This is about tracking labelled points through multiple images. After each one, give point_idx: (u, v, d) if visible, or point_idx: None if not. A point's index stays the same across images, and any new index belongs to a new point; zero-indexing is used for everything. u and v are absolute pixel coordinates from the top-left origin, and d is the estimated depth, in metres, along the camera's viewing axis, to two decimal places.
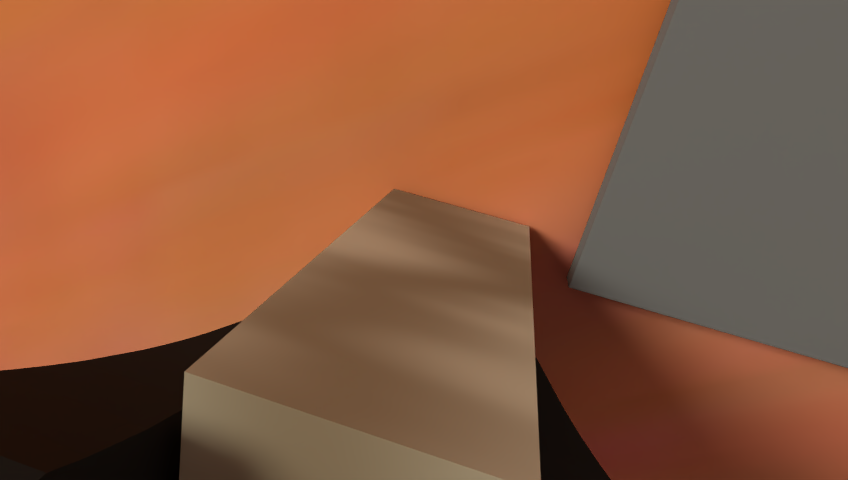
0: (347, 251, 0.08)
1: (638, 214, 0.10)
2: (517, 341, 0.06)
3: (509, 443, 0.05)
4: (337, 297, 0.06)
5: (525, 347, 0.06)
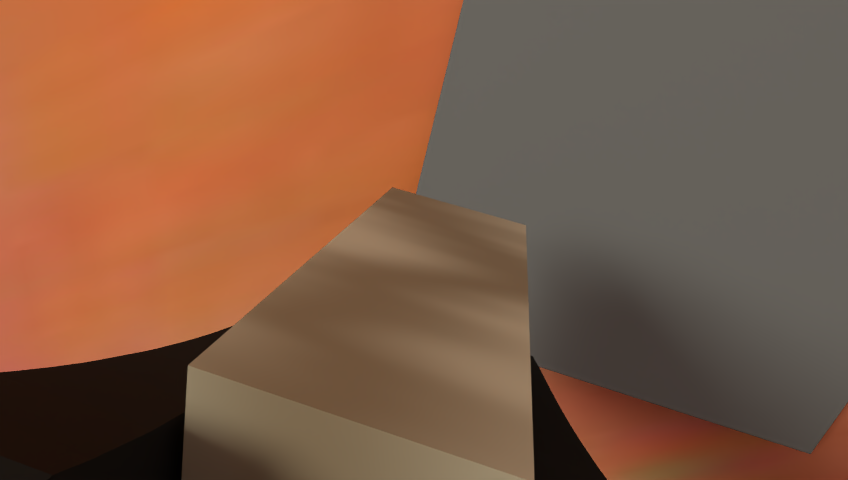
0: (346, 249, 0.08)
1: None
2: (512, 337, 0.07)
3: (503, 436, 0.05)
4: (336, 294, 0.07)
5: (520, 343, 0.06)
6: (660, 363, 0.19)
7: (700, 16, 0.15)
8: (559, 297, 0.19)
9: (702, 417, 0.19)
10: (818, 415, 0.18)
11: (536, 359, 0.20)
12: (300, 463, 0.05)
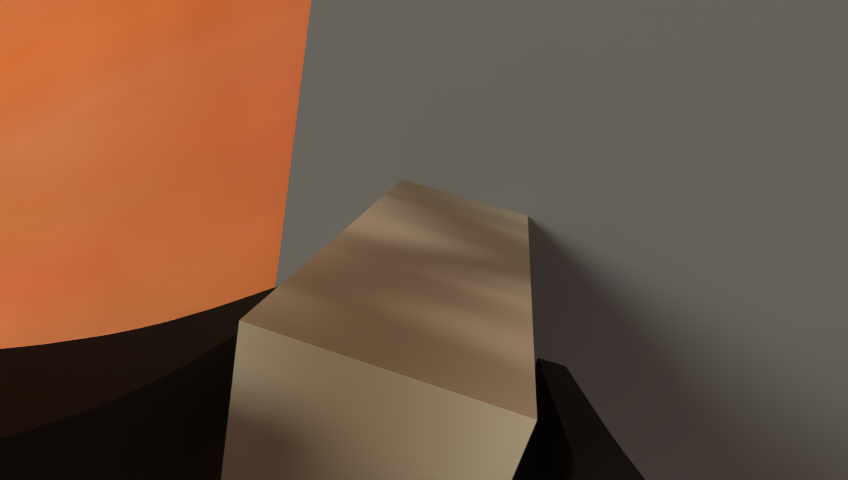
0: (364, 231, 0.09)
1: None
2: (517, 309, 0.07)
3: (509, 385, 0.06)
4: (359, 269, 0.07)
5: (524, 314, 0.07)
6: None
7: (595, 111, 0.11)
8: None
9: None
10: None
11: None
12: (334, 407, 0.06)
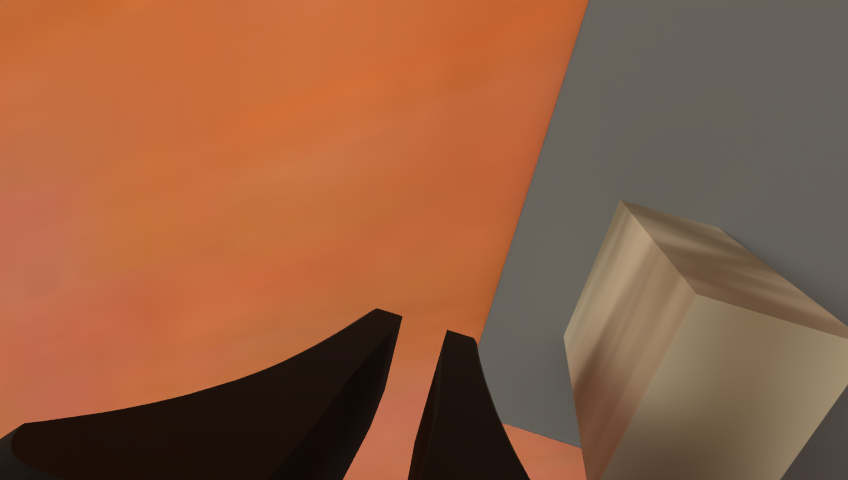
0: (663, 241, 0.13)
1: (489, 377, 0.21)
2: (795, 291, 0.12)
3: (843, 331, 0.10)
4: (697, 266, 0.12)
5: (802, 294, 0.12)
6: None
7: (781, 152, 0.16)
8: None
9: None
10: None
11: None
12: (743, 343, 0.10)
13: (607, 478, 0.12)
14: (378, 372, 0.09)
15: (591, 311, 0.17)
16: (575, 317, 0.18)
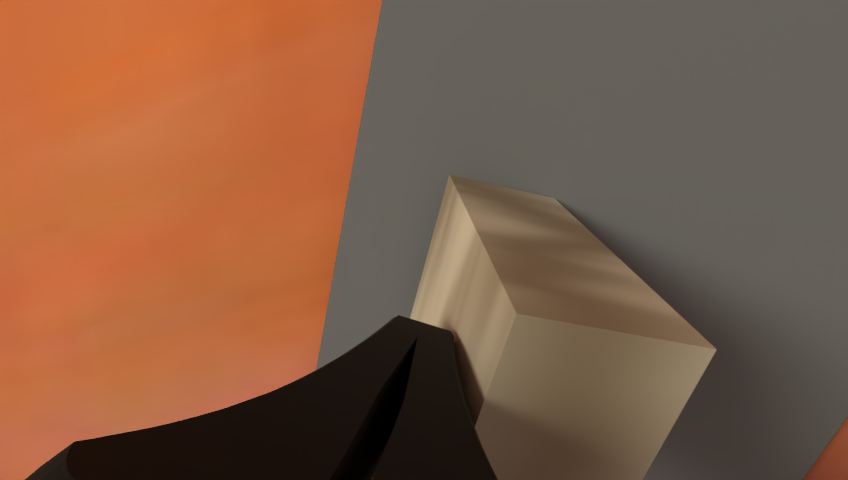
0: (488, 229, 0.11)
1: None
2: (632, 277, 0.10)
3: (684, 330, 0.08)
4: (523, 262, 0.09)
5: (639, 280, 0.10)
6: None
7: (612, 111, 0.14)
8: None
9: None
10: None
11: None
12: (577, 365, 0.08)
13: None
14: (403, 380, 0.09)
15: (425, 311, 0.14)
16: (413, 314, 0.16)
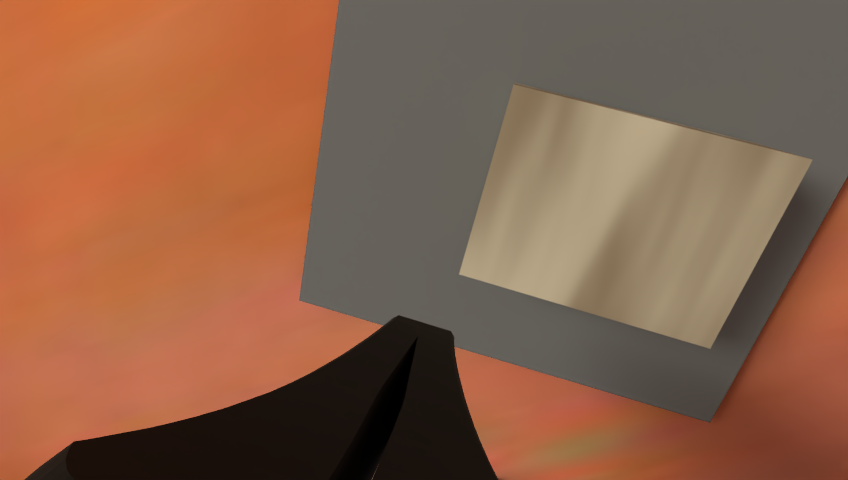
0: (668, 123, 0.13)
1: (322, 263, 0.20)
2: None
3: (741, 139, 0.15)
4: (718, 135, 0.13)
5: (681, 124, 0.16)
6: (559, 337, 0.19)
7: None
8: (459, 275, 0.19)
9: (605, 389, 0.20)
10: (713, 383, 0.19)
11: None
12: None
13: (719, 324, 0.14)
14: (403, 380, 0.09)
15: (543, 226, 0.14)
16: (485, 244, 0.15)
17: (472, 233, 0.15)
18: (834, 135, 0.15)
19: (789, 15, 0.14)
